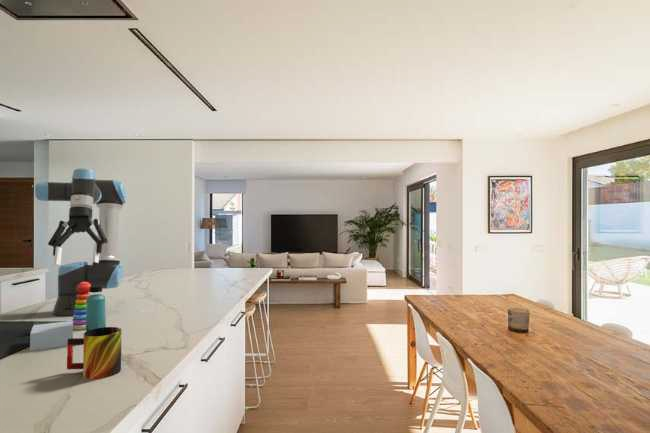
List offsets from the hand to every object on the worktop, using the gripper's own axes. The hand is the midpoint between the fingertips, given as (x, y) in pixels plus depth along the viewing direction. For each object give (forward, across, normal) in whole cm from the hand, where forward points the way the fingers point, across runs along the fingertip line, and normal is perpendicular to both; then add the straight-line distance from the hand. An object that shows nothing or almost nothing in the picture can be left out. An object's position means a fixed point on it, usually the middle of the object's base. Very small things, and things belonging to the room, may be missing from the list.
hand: (76, 263), depth 145 cm
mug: (+37, +21, -23) cm, 48 cm away
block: (+28, -8, +3) cm, 29 cm away
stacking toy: (+23, -8, +23) cm, 33 cm away
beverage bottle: (+28, +5, +7) cm, 29 cm away
